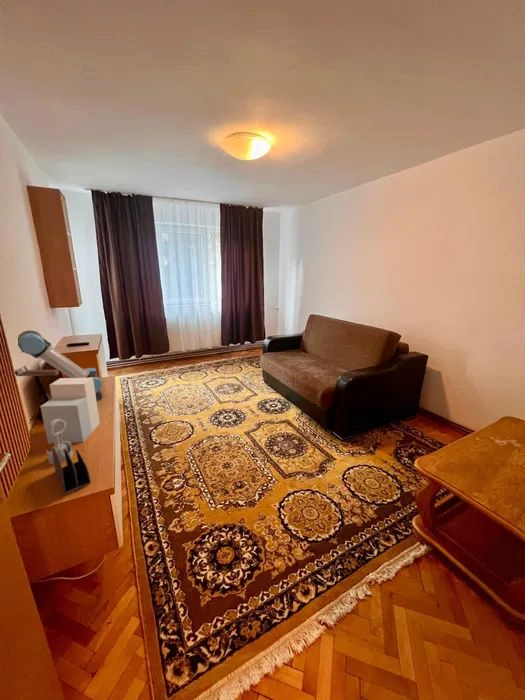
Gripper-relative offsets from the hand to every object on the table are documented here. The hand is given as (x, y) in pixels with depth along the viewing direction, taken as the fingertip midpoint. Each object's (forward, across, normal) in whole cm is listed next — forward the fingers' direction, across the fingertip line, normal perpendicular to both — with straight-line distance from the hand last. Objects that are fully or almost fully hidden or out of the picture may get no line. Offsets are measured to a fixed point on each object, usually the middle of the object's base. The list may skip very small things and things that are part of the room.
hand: (25, 368), depth 155 cm
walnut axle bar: (+1, 0, -5) cm, 6 cm away
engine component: (+5, +28, -47) cm, 55 cm away
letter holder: (+16, +44, -54) cm, 71 cm away
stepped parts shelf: (0, +5, -44) cm, 45 cm away
